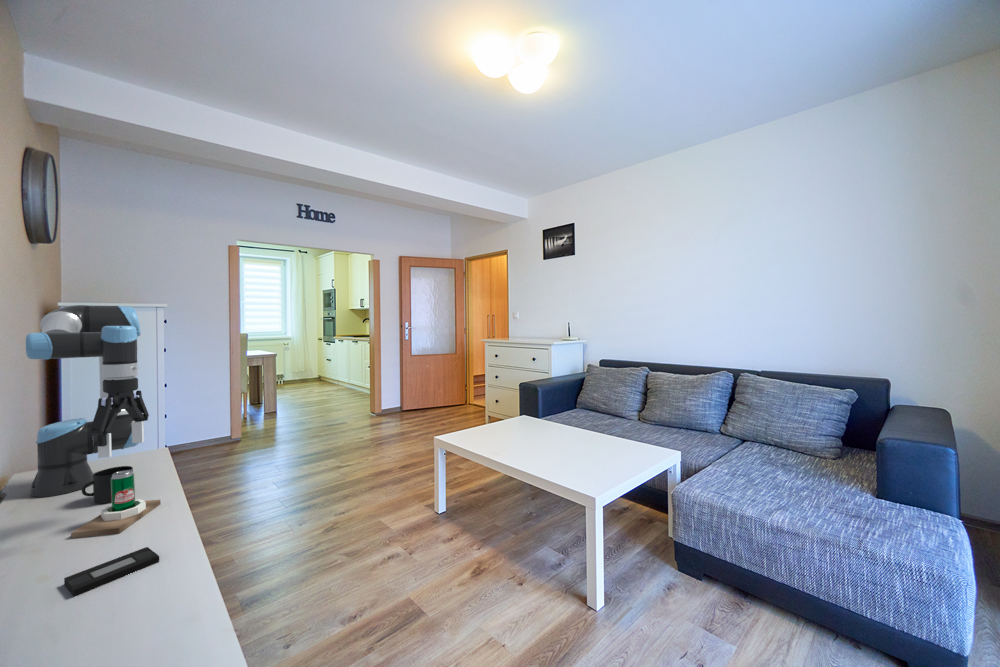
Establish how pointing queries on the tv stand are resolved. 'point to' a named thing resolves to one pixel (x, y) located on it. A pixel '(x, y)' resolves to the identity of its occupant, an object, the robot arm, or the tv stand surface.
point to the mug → (103, 484)
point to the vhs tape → (110, 571)
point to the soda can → (122, 490)
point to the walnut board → (111, 523)
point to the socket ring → (109, 515)
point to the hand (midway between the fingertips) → (122, 449)
